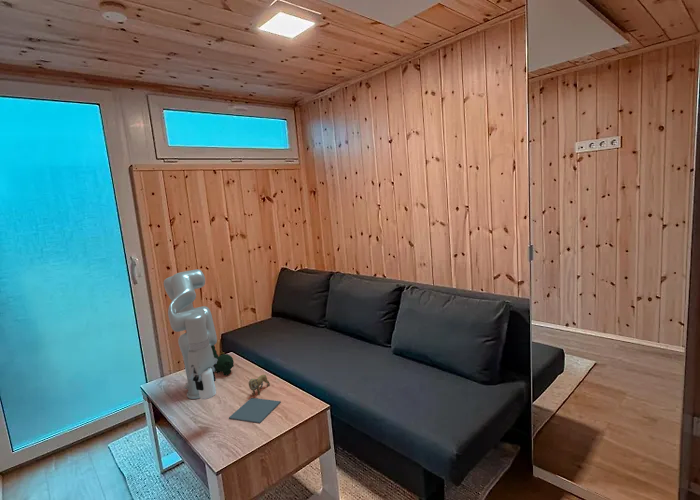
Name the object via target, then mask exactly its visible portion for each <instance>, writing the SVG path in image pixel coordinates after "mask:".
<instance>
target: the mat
mask: <svg viewBox="0 0 700 500" xmlns="http://www.w3.org/2000/svg"><path fill="white" fill-rule="evenodd" d="M281 403H282V402H281V400H274V399H265V398H256V397H250V398H249V399H248V400H246V402H245V403H244V404H242V405H241V406H240V407H239V408H238V409H237V410H235V412H233V413H232V414H231V415H230V416H229V417H228V420H229V419H230V420H233V421H240V422H241V421H242V422H249V423H255V424H261V423H263V421H264V420H265V419H266V418H267V417H268V416H269V415H270V414H271V413H272V412H273V411H274V410H275V409H276V408H277V407H278V406H279V405H280V404H281Z"/></svg>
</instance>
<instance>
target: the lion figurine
mask: <svg viewBox="0 0 700 500" xmlns="http://www.w3.org/2000/svg"><path fill="white" fill-rule="evenodd" d="M264 383H266V384H267V385H266V386H267V387H270V386H271V385H270V381H269V380H268V377H267V375H266V374H261V375H259V376H258V377H257V378H251V379H249V380H248V387H249V389H250V390H251V391H252V396H255V395H256V391H257V396H260V395H261V392H260V391H261V390H260V389H262V388H263V386H264Z"/></svg>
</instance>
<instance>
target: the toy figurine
mask: <svg viewBox="0 0 700 500" xmlns="http://www.w3.org/2000/svg"><path fill="white" fill-rule="evenodd" d="M211 348H212V351H213V355H214V358H216V359H218V360H217V363H216V367H215V374H216V373H217V374H220V373H222V375H223V376H229V375H230V374H231V373H232V370H231V369H232V368H234V366H235V364H234V362H235V361H234V358H233V357H232V355H230V354H228V353H223V354H218V352H217V350H216V346H215V345H213V346H211Z"/></svg>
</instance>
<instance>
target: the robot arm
mask: <svg viewBox="0 0 700 500" xmlns="http://www.w3.org/2000/svg"><path fill="white" fill-rule="evenodd" d="M205 285H206V277H205V274H204V273H203V271H202V270H201V269H200V268H199V269H192V270H191V269H190V270H185V271H181V272H177V273H174V274H173V275H171V276H168V277H167V278H165V279H164V280H163V288H164V289H165V292H166V295H167V296H168V298H169V299H170V300H171V302H170V304H169V306H168V310H167V316H168V322H169V324H170V328H171V329H172V331H173V332H176V333H177V332H183V331H184V332H185V333H183V334H181V335H180V336H179V337H178V339H177V340H178V342H177V343H178V346H179V349H180V352H181V355H182V359H183V363H184V370H185V375H186V379H187V382H186V383H185V386H183V387H184V389H186V390H187V392H186V398H188V399H190V400H198V399H201V398H200V396H199V391H198V390H203V389H204V388H203V383H202V381H201V374H202V373H203V372H204V371H206V370H208V369H209V368H211V369H212V372H213V377H214V383H215V382H216V381H217V380H216V371H215V367H216V363H217V360H218V359H216V358H214V355H213V351H212V348H211V346H213V345H214V346H215V345H216V344H217V343H218V336H217V332H216V327H215V323H214V319H213V315H212V311H211V309H210V308H209V307H208V306H205V305H203V306H199V307H194V304H193V302H194V301H195V300H196V298H197V293H196V291H195V290H197V289H201V288H203V287H205ZM197 375H198V378H197Z"/></svg>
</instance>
